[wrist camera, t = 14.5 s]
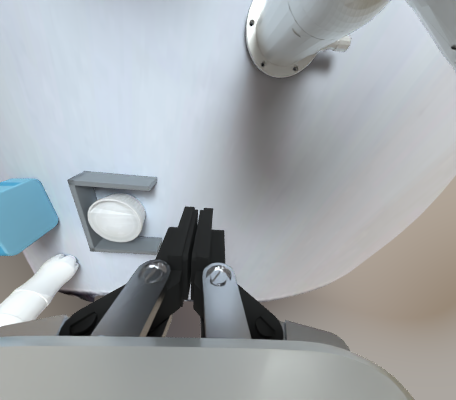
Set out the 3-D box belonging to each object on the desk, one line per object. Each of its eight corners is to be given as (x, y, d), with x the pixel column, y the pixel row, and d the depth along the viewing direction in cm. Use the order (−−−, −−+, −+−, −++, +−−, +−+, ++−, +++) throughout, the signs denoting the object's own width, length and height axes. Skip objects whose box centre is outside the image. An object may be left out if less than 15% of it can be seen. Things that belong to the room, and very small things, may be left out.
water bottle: (66, 272, 53) (-45, 393, 31) (47, 254, 50) (-92, 376, 27) (87, 265, 52) (-11, 386, 30) (70, 247, 49) (-56, 368, 27)
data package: (16, 176, 39) (-60, 203, 29) (38, 176, 39) (-29, 203, 29) (42, 222, 45) (-14, 259, 34) (61, 222, 45) (11, 259, 34)
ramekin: (129, 180, 41) (117, 190, 36) (159, 218, 45) (152, 231, 41) (90, 200, 42) (74, 212, 38) (123, 234, 47) (112, 248, 43)
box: (156, 177, 40) (148, 186, 36) (162, 240, 49) (156, 254, 44) (84, 171, 39) (67, 179, 35) (102, 237, 47) (90, 251, 43)
